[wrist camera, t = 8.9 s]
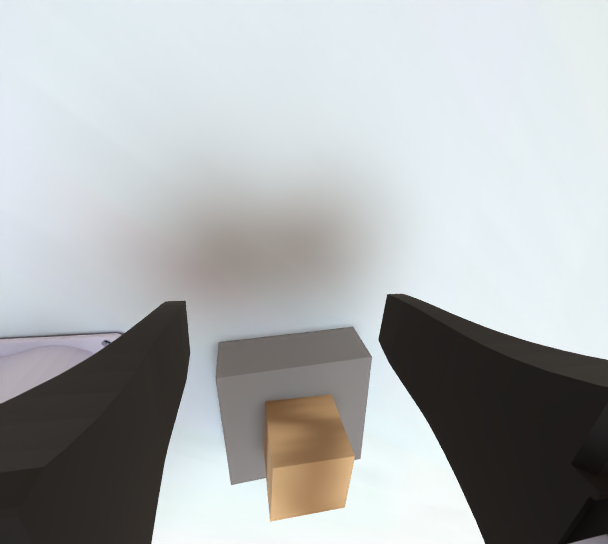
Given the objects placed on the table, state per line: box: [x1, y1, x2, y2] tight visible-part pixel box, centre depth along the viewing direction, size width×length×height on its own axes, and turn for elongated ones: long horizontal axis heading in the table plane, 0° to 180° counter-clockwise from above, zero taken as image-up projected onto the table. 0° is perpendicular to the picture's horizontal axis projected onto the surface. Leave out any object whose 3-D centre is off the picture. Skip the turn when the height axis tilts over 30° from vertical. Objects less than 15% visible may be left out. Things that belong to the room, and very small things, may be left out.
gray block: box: [216, 327, 372, 485], centre depth 23 cm, size 10×10×4 cm
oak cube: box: [264, 395, 355, 521], centre depth 19 cm, size 4×4×4 cm
